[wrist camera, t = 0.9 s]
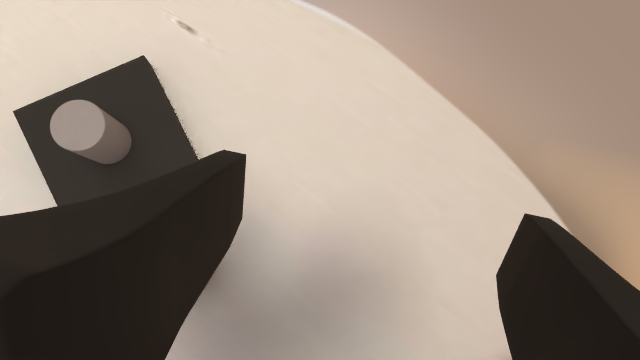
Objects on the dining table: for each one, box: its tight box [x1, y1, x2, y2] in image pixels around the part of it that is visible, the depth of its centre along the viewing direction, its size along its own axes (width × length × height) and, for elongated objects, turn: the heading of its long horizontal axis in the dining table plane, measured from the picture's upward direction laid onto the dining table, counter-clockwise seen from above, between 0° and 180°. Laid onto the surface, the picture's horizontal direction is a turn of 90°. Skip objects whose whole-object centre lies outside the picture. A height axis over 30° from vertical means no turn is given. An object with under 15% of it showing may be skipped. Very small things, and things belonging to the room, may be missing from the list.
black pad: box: [13, 56, 198, 206], centre depth 24 cm, size 8×13×6 cm, turn 28°
